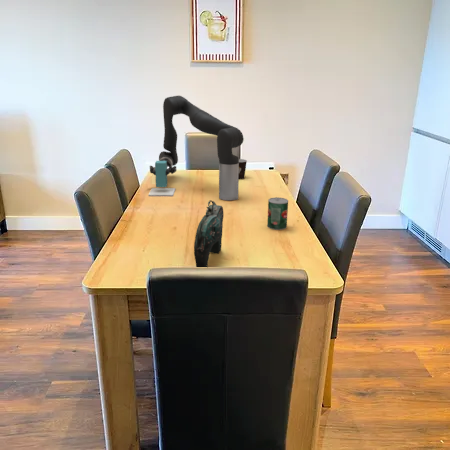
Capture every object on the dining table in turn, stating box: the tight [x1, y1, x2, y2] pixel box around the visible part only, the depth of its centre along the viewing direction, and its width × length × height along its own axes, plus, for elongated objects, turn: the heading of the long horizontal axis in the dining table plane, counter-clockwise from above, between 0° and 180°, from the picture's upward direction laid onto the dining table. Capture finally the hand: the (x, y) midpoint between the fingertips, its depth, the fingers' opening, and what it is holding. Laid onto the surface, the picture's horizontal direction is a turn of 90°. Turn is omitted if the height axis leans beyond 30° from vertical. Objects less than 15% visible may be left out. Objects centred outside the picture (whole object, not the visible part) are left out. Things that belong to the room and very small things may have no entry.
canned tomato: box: [266, 196, 289, 231], centre depth 177 cm, size 8×8×11 cm
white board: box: [148, 187, 176, 197], centre depth 223 cm, size 12×12×1 cm
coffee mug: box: [238, 158, 248, 180], centre depth 252 cm, size 12×9×10 cm
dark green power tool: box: [193, 199, 225, 268], centre depth 146 cm, size 20×6×20 cm, turn 163°
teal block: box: [154, 160, 168, 188], centre depth 220 cm, size 5×5×12 cm
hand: (160, 173), depth 217 cm, fingers closed on teal block, 5 cm apart
